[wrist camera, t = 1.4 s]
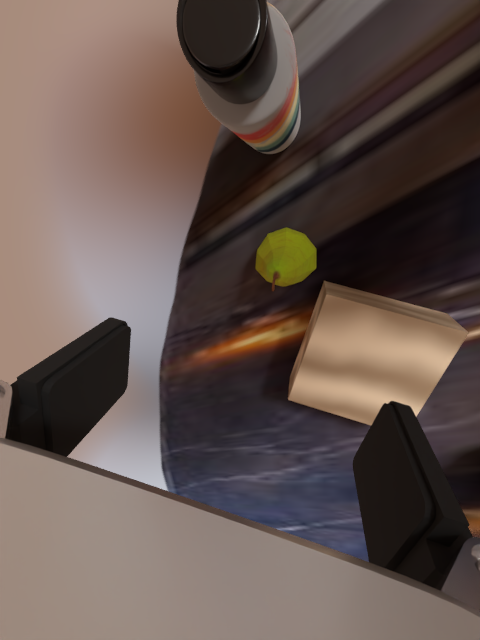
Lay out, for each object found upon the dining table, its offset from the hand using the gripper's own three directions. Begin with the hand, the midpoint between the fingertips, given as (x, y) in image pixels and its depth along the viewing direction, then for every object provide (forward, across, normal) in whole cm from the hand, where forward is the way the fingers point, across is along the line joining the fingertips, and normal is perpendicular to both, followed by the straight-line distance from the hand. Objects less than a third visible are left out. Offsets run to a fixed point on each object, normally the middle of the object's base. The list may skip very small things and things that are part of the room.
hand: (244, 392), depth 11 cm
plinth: (+26, -12, +9) cm, 30 cm away
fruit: (+26, 0, 0) cm, 27 cm away
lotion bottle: (+26, +5, -12) cm, 29 cm away
